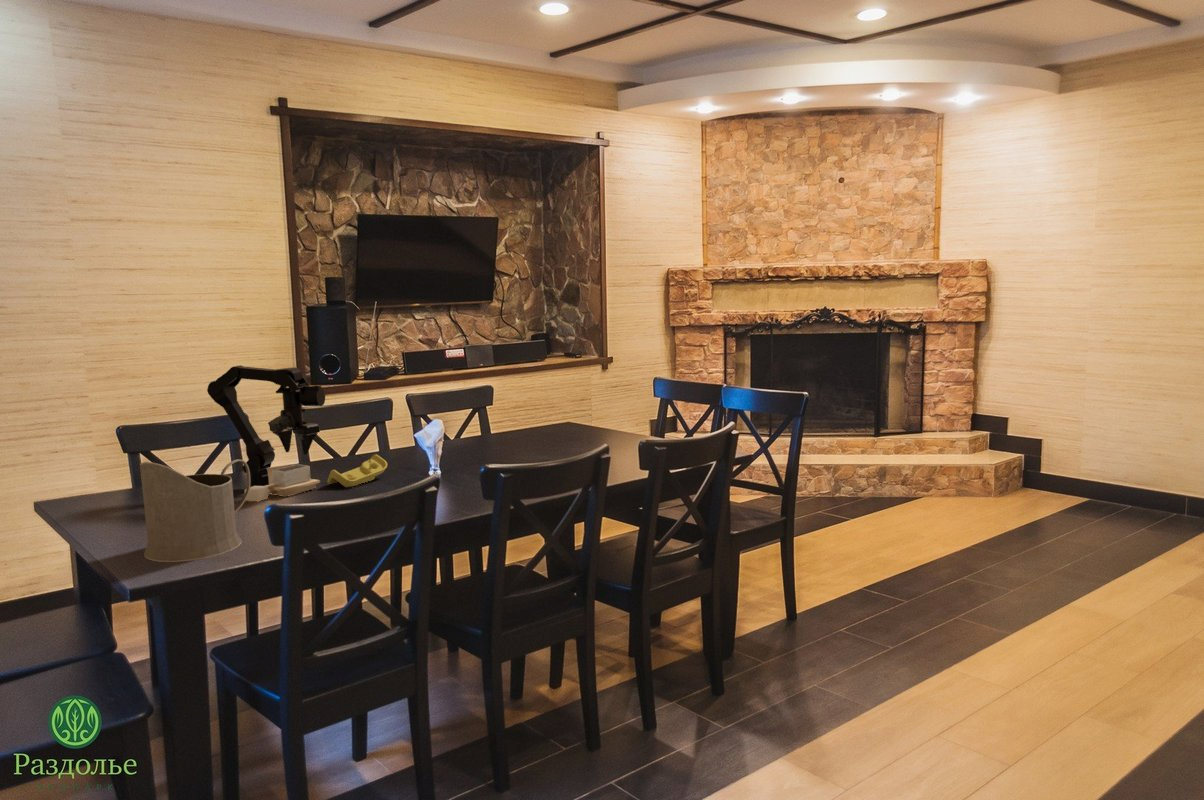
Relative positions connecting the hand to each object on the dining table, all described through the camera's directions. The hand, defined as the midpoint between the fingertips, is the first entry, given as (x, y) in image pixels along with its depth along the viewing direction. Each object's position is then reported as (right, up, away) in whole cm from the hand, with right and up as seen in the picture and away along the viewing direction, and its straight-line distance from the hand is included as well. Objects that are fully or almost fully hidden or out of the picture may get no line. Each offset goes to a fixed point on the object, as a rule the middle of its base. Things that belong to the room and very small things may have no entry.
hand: (296, 453), depth 297 cm
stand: (0, -13, -3) cm, 13 cm away
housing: (0, -10, -3) cm, 10 cm away
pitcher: (-4, -21, -57) cm, 61 cm away
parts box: (-9, -14, -11) cm, 20 cm away
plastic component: (+18, -11, +10) cm, 24 cm away
